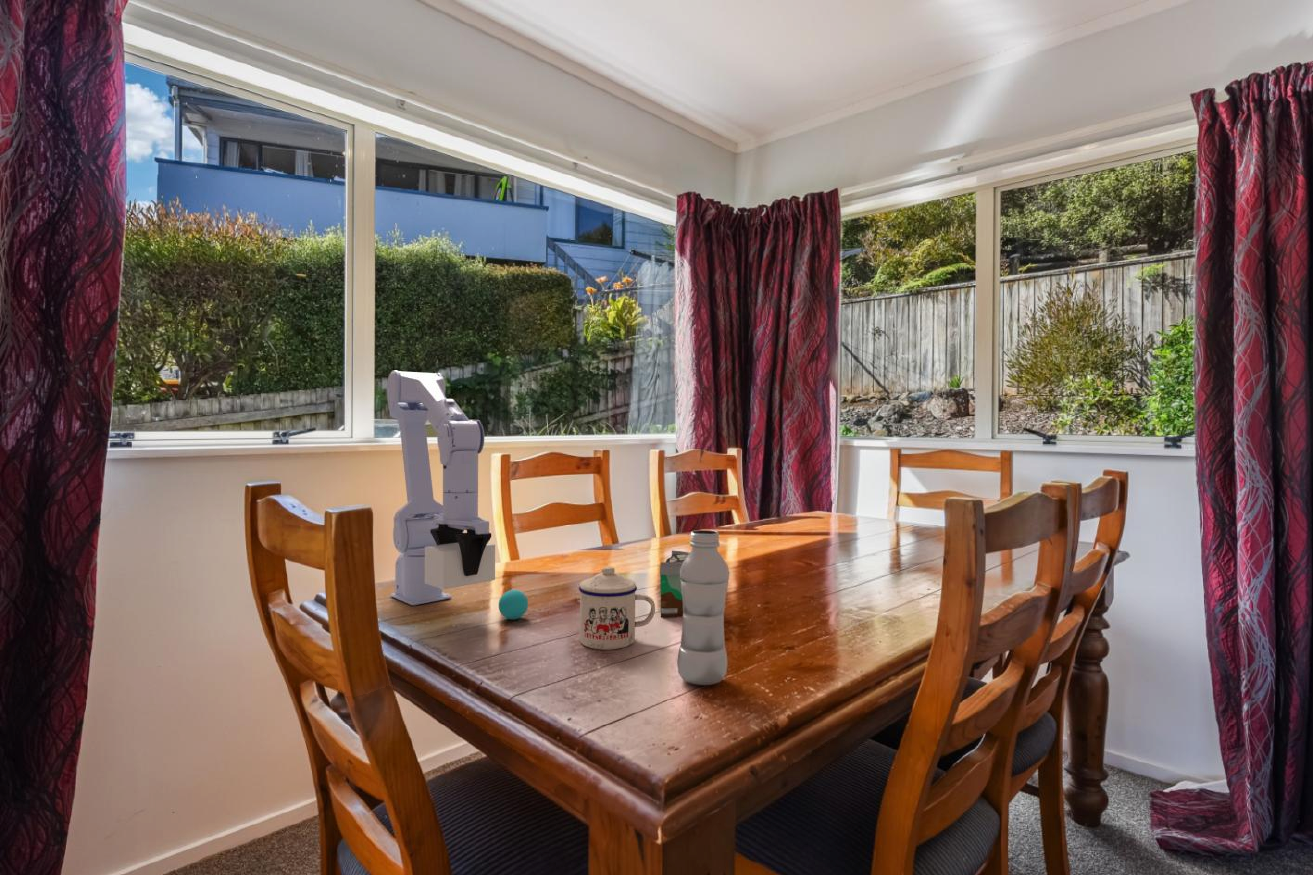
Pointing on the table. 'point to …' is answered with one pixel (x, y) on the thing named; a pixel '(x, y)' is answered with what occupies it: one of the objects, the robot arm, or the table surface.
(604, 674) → the table surface
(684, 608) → the plastic bottle
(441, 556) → the white block
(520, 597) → the ball
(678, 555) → the food container
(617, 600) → the teacup with lid
